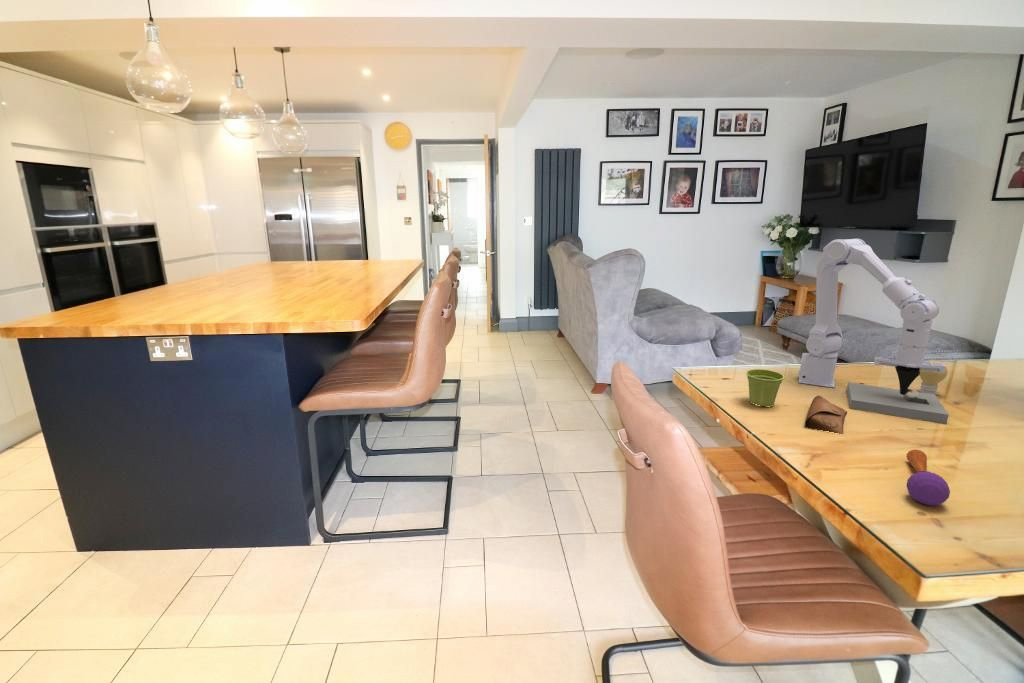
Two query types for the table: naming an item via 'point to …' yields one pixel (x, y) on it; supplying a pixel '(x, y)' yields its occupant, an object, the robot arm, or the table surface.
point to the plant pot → (763, 386)
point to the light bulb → (931, 379)
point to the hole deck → (895, 403)
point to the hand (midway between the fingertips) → (902, 393)
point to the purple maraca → (925, 481)
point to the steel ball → (911, 394)
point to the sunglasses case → (825, 416)
